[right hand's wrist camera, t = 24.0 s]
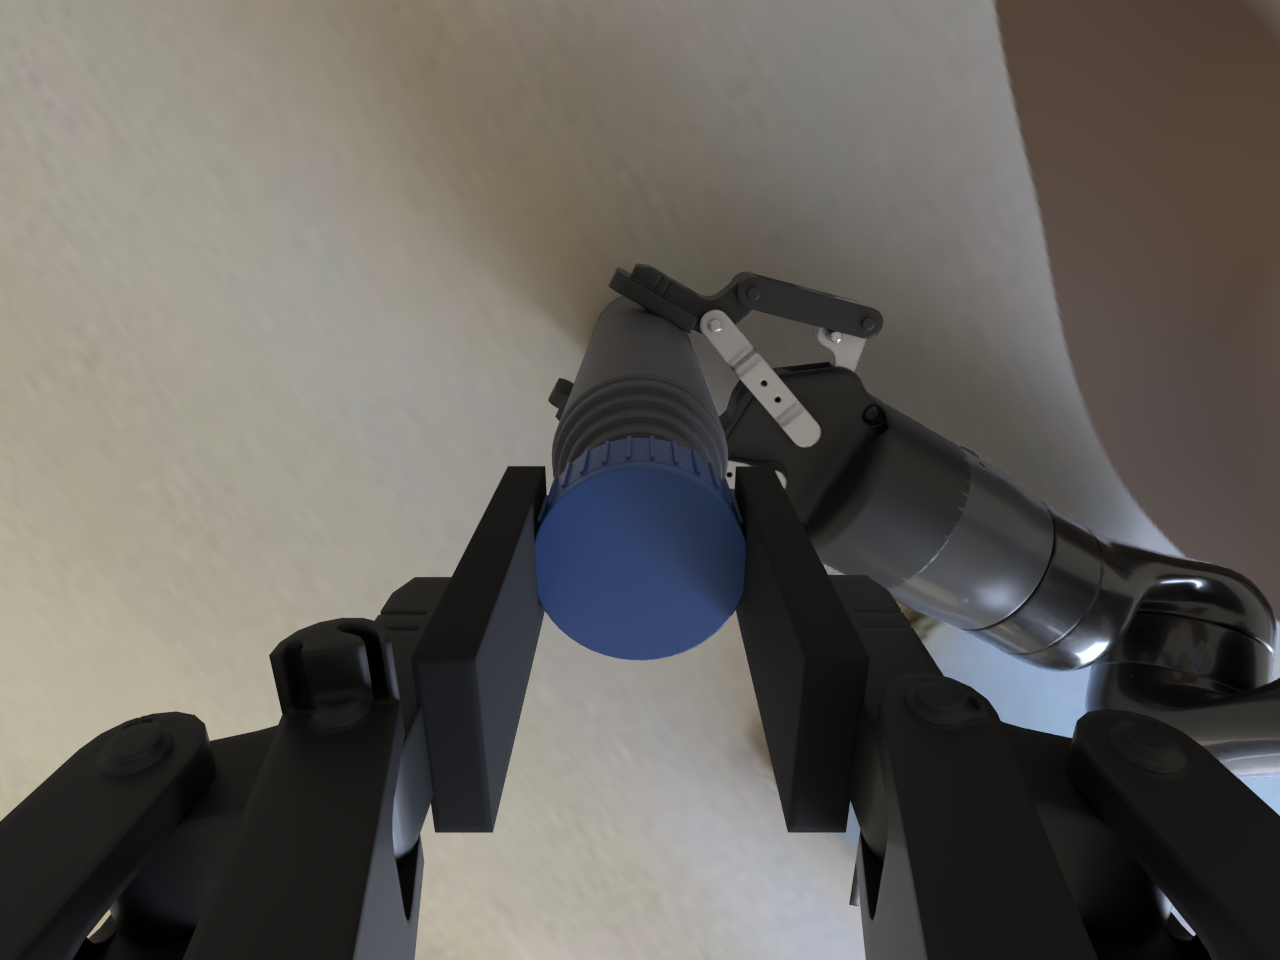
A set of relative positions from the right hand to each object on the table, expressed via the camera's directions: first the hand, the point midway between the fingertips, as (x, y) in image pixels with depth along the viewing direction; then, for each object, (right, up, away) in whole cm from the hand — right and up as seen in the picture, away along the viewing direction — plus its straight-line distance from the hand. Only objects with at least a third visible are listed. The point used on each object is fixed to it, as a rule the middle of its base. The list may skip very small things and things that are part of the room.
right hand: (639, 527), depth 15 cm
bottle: (0, +8, +21) cm, 23 cm away
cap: (0, -1, -1) cm, 1 cm away
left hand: (-2, +7, +15) cm, 16 cm away
